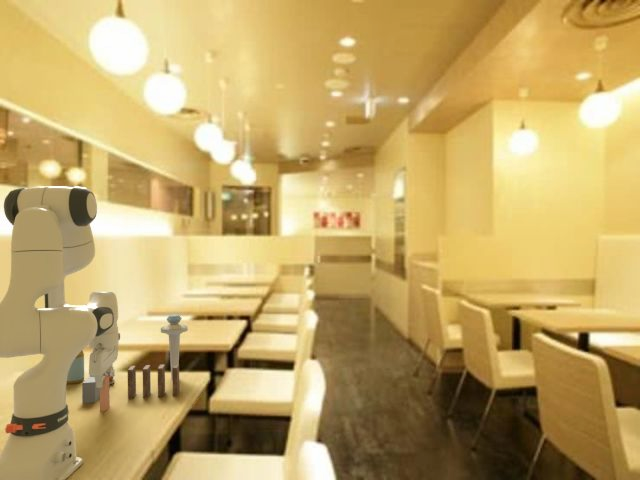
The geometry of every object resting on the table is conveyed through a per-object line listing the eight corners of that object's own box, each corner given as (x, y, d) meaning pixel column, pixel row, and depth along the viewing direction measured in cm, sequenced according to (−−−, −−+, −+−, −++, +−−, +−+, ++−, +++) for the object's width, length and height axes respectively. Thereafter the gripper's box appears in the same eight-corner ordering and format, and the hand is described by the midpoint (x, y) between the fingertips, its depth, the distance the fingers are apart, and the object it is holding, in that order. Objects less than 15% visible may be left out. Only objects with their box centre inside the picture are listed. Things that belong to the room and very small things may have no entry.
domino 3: (150, 392, 172) (150, 365, 172) (147, 397, 167) (147, 368, 167) (145, 393, 172) (145, 365, 171) (143, 397, 167) (142, 369, 166)
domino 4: (165, 392, 173) (164, 364, 172) (162, 396, 168) (162, 368, 167) (160, 392, 172) (160, 364, 172) (157, 396, 167) (157, 368, 167)
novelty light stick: (187, 373, 194) (186, 312, 194) (188, 381, 185) (187, 316, 184) (161, 376, 191) (160, 313, 191) (161, 383, 182) (160, 318, 181)
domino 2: (136, 393, 171) (135, 365, 171) (132, 398, 166) (132, 369, 166) (131, 393, 171) (130, 365, 171) (127, 398, 166) (127, 369, 166)
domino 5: (179, 391, 173) (179, 363, 173) (177, 395, 168) (177, 367, 168) (174, 391, 173) (174, 363, 173) (172, 396, 168) (172, 367, 168)
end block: (95, 402, 162) (94, 382, 162) (82, 403, 161) (82, 382, 161) (103, 393, 172) (103, 373, 172) (91, 393, 171) (91, 374, 171)
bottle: (81, 377, 190) (81, 340, 190) (86, 381, 185) (85, 343, 184) (62, 381, 186) (61, 342, 185) (66, 385, 180) (65, 345, 180)
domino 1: (109, 405, 159) (109, 375, 159) (105, 411, 154) (104, 380, 154) (104, 405, 159) (104, 375, 159) (100, 411, 154) (99, 380, 154)
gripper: (105, 348, 147) (105, 392, 147) (121, 332, 167) (121, 372, 167) (83, 348, 146) (83, 393, 146) (102, 333, 166) (102, 372, 166)
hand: (104, 382), depth 157 cm, fingers open, 8 cm apart
